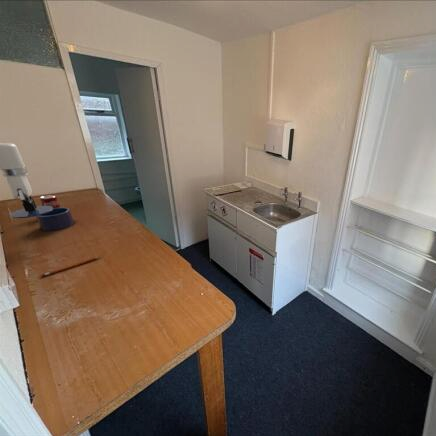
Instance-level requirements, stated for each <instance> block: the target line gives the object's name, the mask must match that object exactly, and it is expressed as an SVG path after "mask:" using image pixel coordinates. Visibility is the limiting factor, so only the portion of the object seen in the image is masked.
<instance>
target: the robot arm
mask: <svg viewBox="0 0 436 436" xmlns="http://www.w3.org/2000/svg"><path fill="white" fill-rule="evenodd" d="M0 172H1V174H2V176H3V177H4V178H6V180H7V184H8V186H9V189H10V191H11V194H12V197H13V198H14V199H18V198H19V199H20V202H21V205H22V207H23V209H25V211H26V212H28V211H35V208H37V207H36V206H37V204H36V202H35V200H34V198H33V196H32V194H33V189H32V186H31V184H30V182H29V179H28V177H27V176H28V175H29V173H28V170H27V168H26V164H25V163H24V160H23V158H22V155H21V153H20V151H19V149H18V146H17V145H16V144H15V143H12V142H0ZM30 199H31V200H32V201H33V203H34V205H35V207H34V205H33V203H32V202H31V200H30Z"/></svg>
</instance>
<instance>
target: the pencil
mask: <svg viewBox="0 0 436 436" xmlns="http://www.w3.org/2000/svg"><path fill="white" fill-rule="evenodd" d="M99 258H100V256H96V257H92V258H89V259H85V260H82V261H79V262H76V263H73V264H71V265H67V266H64V267H61V268H58V269H55V270H51V271H48V272H46V273H42V277H45V276H49V275H52V274H55V273H58V272H61V271H64V270H67V269H71V268H74V267H76V266H80V265H83V264H85V263H88V262H92V261H95V260H97V259H99Z"/></svg>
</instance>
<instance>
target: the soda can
mask: <svg viewBox="0 0 436 436" xmlns="http://www.w3.org/2000/svg"><path fill="white" fill-rule="evenodd" d="M39 202H40V203H41V206H51V207H53V208H61V206H60V205H61V204H60V202H59V200H58V197H57V196H56V195H53V194H49V195H43V196H40V197H39Z"/></svg>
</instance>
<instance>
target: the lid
mask: <svg viewBox="0 0 436 436" xmlns="http://www.w3.org/2000/svg"><path fill="white" fill-rule="evenodd" d="M30 200H31V199H30ZM31 202H32V203H33V201H32V200H31ZM33 205H34V203H33ZM34 207H35V205H34ZM36 207H37V208H35V211H28V212H26V211H25V209H24V208H22V209H17V210H15V211H13V212H11V213H9V217H10V218H12V219H27V218H34V217H36V216H39V215H43V214H46V213H49V212H51V211H52V210H53V207H51V206H42V205H36Z"/></svg>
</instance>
